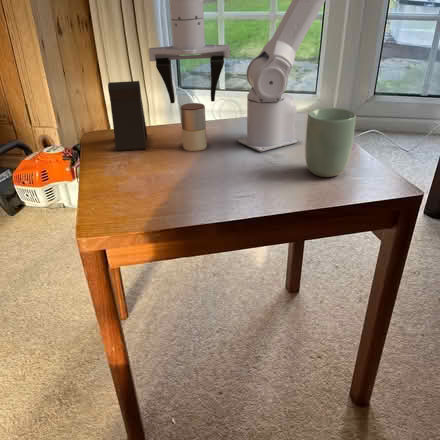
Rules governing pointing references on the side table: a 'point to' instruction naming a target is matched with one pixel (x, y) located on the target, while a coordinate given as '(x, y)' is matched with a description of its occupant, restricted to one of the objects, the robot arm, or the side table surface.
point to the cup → (329, 140)
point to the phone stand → (127, 115)
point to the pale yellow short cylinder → (194, 139)
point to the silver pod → (193, 116)
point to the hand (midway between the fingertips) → (192, 101)
